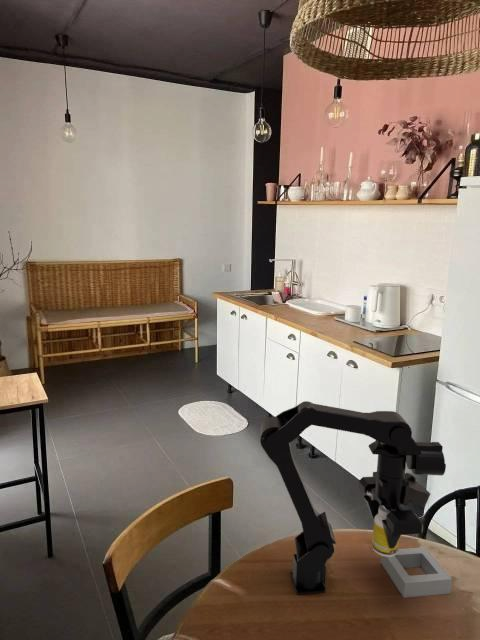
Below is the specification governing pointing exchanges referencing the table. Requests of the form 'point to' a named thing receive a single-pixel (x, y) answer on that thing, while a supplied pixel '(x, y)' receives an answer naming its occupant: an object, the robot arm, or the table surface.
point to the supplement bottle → (382, 536)
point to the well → (417, 584)
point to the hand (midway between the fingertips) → (385, 539)
